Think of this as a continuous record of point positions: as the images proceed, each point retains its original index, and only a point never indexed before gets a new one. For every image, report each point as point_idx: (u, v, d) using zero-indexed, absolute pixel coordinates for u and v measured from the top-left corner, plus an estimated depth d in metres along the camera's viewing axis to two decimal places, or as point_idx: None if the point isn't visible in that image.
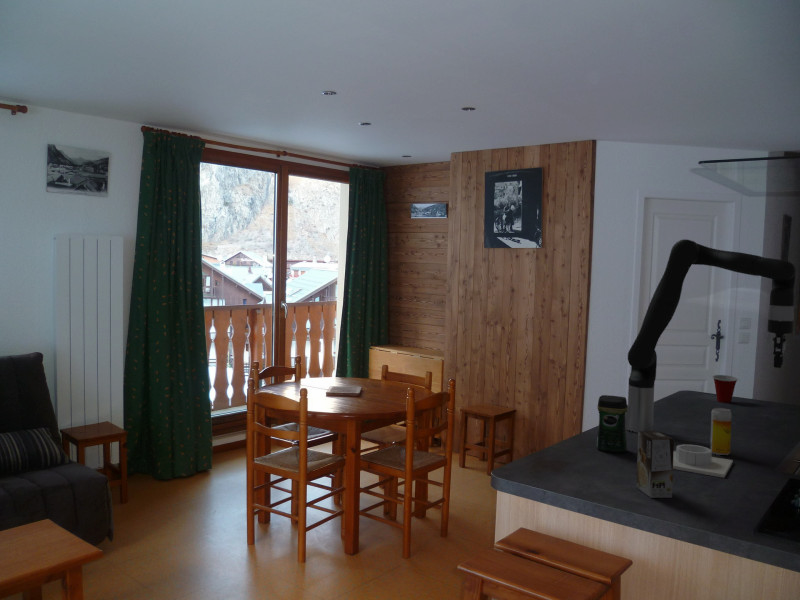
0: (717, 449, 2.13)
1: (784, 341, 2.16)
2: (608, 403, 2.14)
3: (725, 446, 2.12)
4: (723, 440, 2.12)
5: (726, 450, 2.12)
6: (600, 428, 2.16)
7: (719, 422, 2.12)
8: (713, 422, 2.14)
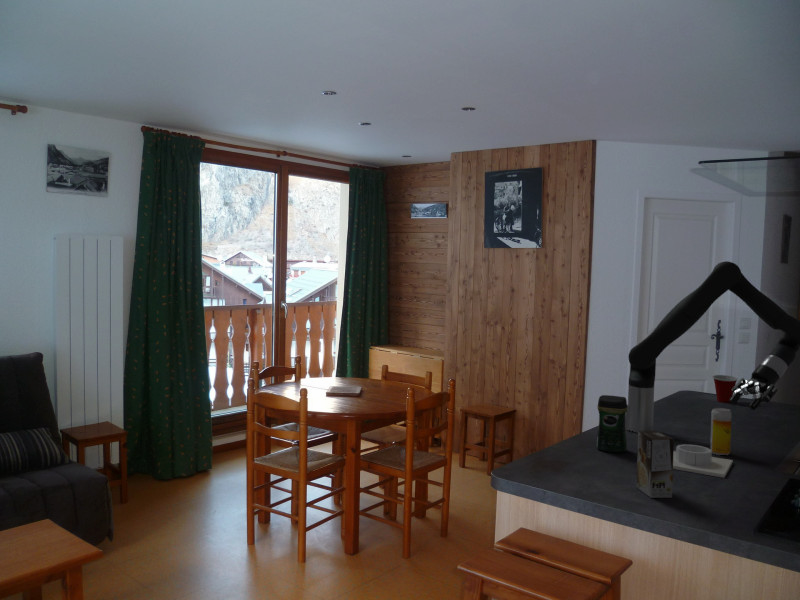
0: (717, 449, 2.13)
1: None
2: (608, 403, 2.14)
3: (725, 446, 2.12)
4: (723, 440, 2.12)
5: (726, 450, 2.12)
6: (600, 428, 2.16)
7: (719, 422, 2.12)
8: (713, 422, 2.14)
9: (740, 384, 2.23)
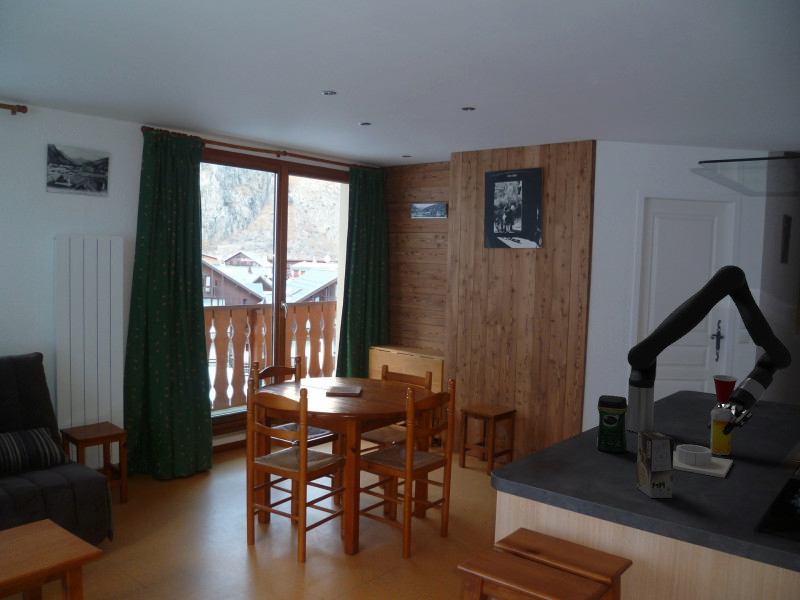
0: (717, 449, 2.13)
1: (741, 415, 2.14)
2: (608, 403, 2.14)
3: (725, 446, 2.12)
4: (723, 440, 2.12)
5: (726, 450, 2.12)
6: (600, 428, 2.16)
7: (719, 422, 2.12)
8: (713, 422, 2.14)
9: None
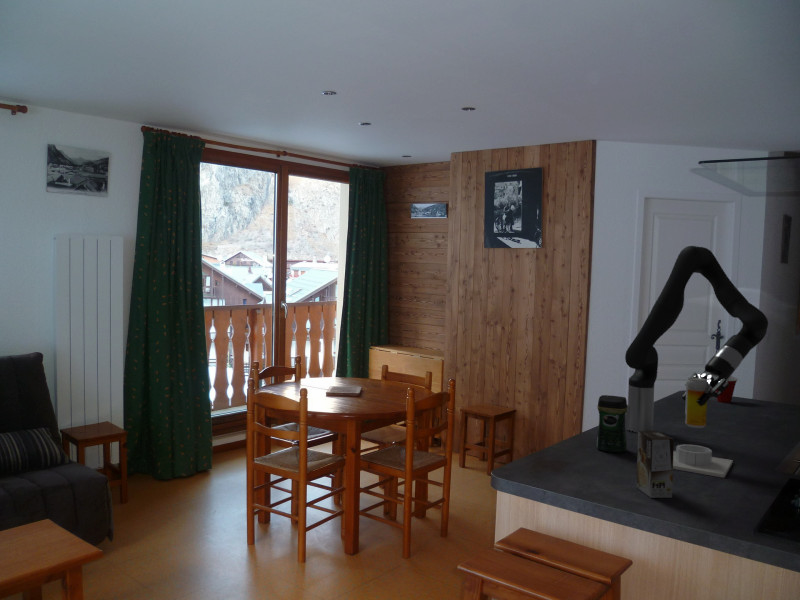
0: (692, 421, 1.99)
1: None
2: (608, 403, 2.14)
3: (701, 418, 1.99)
4: (699, 411, 1.99)
5: (701, 422, 1.99)
6: (600, 428, 2.16)
7: (694, 392, 1.99)
8: (687, 393, 2.01)
9: None
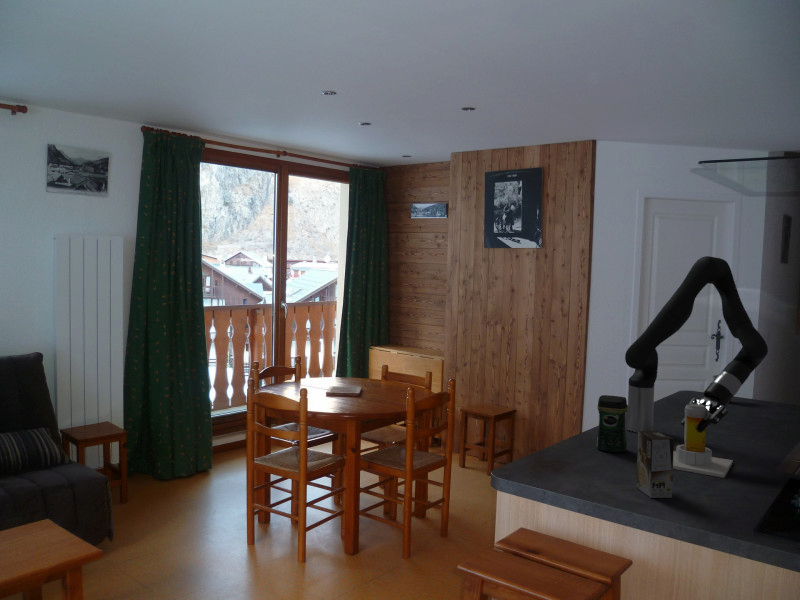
0: (691, 447, 2.00)
1: (716, 411, 2.01)
2: (608, 403, 2.14)
3: (699, 445, 1.99)
4: (698, 438, 1.99)
5: (700, 449, 1.99)
6: (600, 428, 2.16)
7: (693, 418, 1.99)
8: (686, 419, 2.01)
9: None
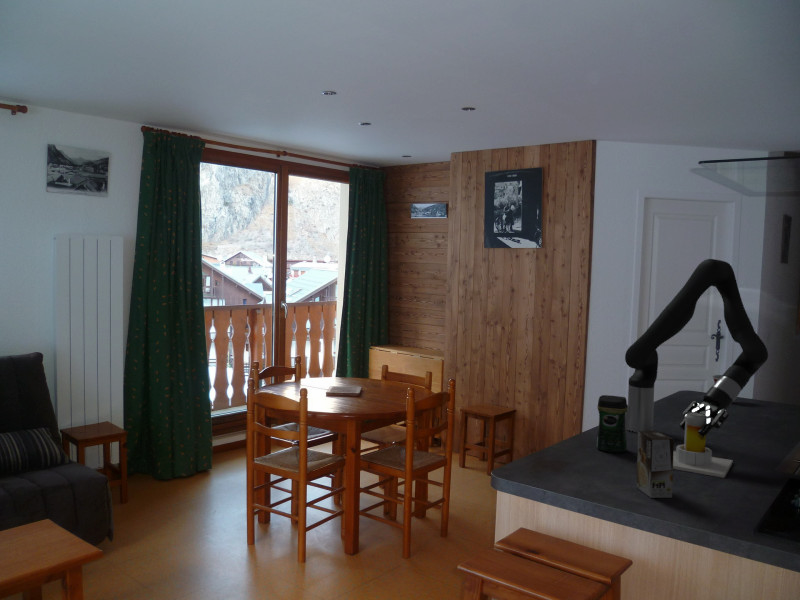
0: None
1: (715, 415, 2.01)
2: (608, 403, 2.14)
3: None
4: (697, 446, 1.99)
5: None
6: (600, 428, 2.16)
7: (693, 427, 1.99)
8: (686, 428, 2.01)
9: (692, 407, 2.08)
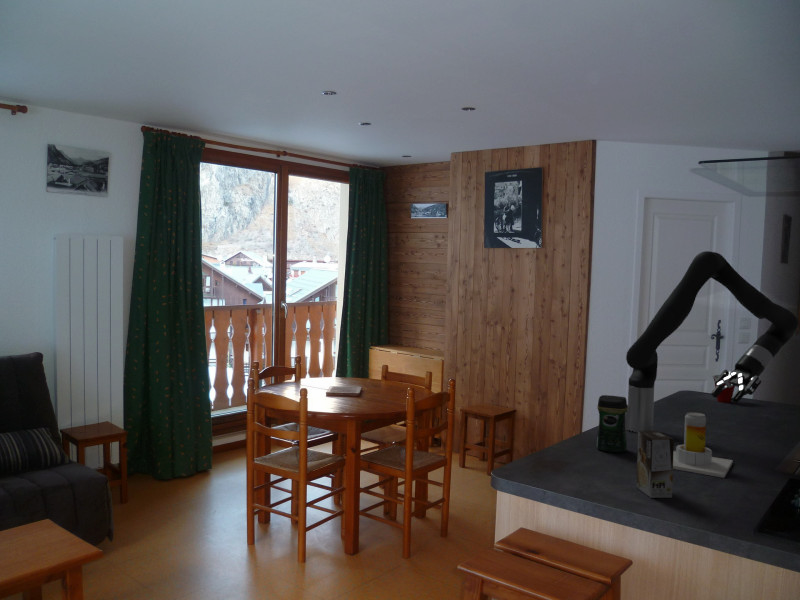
0: None
1: None
2: (608, 403, 2.14)
3: None
4: (697, 447, 1.99)
5: None
6: (600, 428, 2.16)
7: (693, 427, 1.99)
8: (686, 428, 2.01)
9: (723, 376, 2.11)
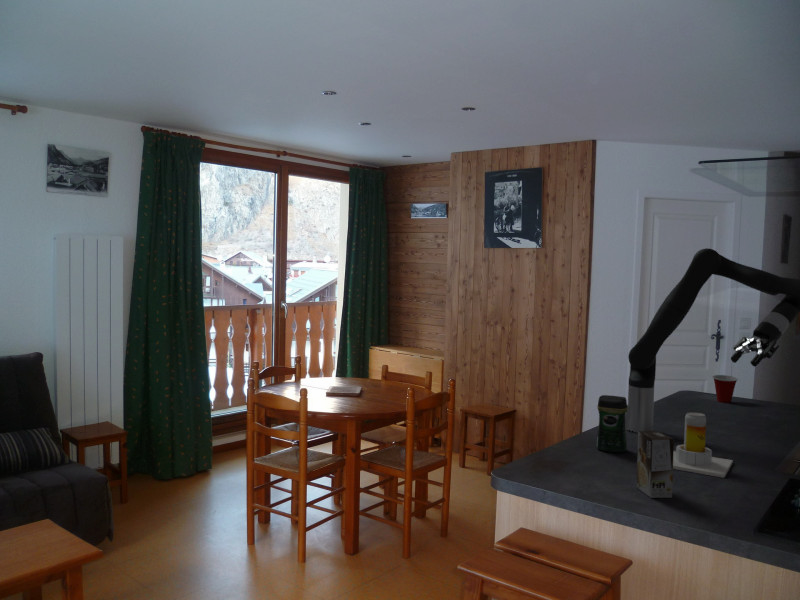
0: None
1: None
2: (608, 403, 2.14)
3: None
4: (697, 447, 1.99)
5: None
6: (600, 428, 2.16)
7: (693, 427, 1.99)
8: (686, 428, 2.01)
9: (741, 342, 2.22)
